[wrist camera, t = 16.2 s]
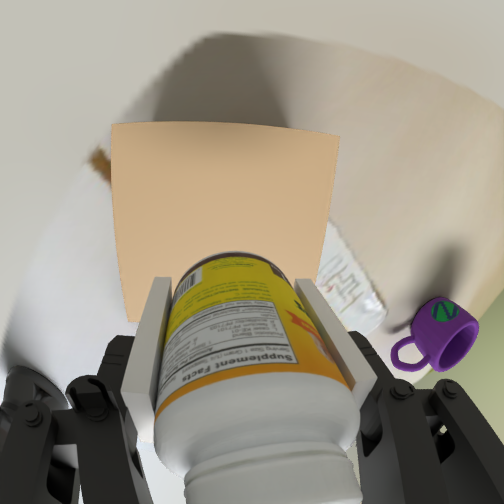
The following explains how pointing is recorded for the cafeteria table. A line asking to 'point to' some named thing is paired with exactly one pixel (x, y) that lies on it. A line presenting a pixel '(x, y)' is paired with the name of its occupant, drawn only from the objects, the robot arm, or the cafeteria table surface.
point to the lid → (216, 198)
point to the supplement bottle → (251, 392)
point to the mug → (439, 336)
